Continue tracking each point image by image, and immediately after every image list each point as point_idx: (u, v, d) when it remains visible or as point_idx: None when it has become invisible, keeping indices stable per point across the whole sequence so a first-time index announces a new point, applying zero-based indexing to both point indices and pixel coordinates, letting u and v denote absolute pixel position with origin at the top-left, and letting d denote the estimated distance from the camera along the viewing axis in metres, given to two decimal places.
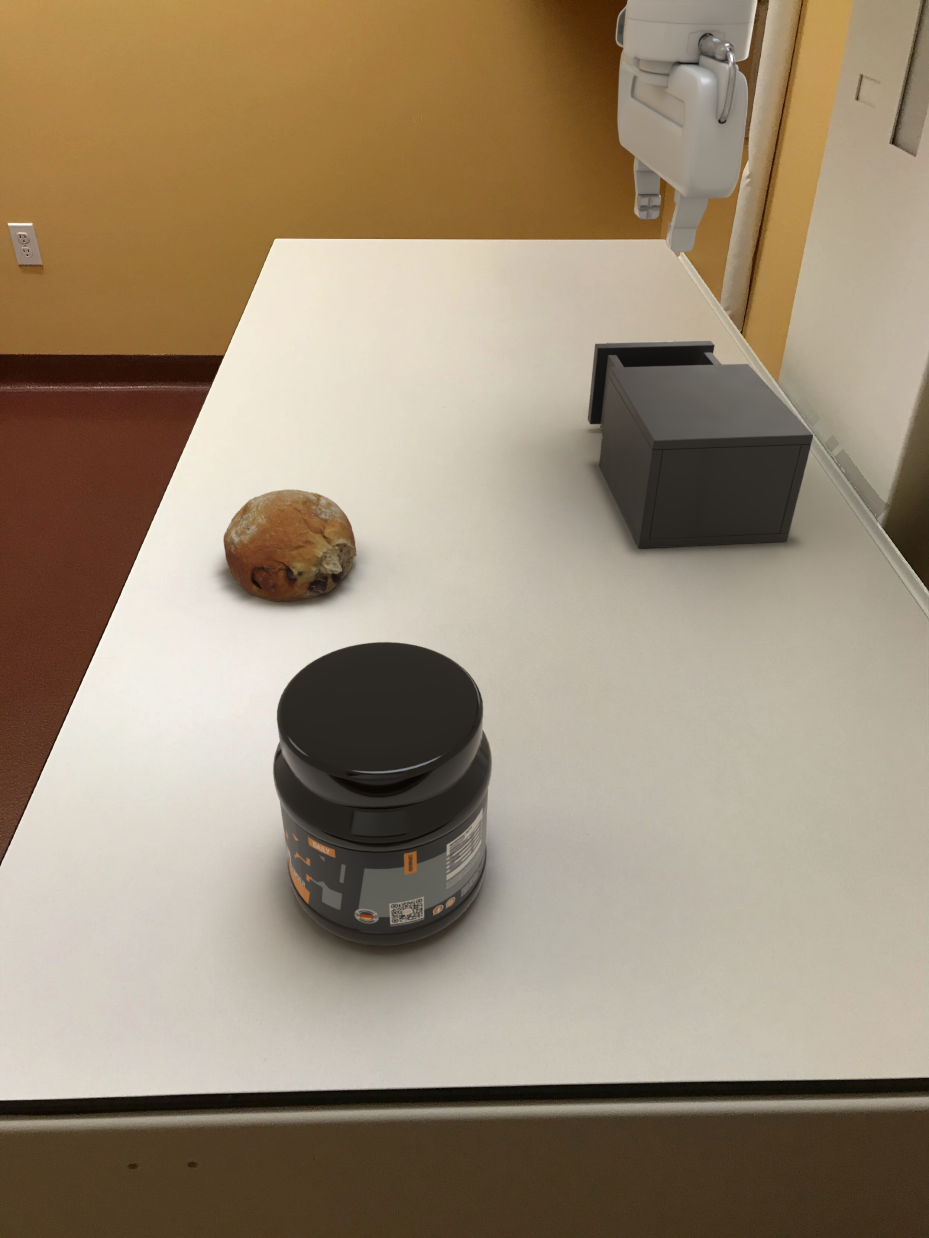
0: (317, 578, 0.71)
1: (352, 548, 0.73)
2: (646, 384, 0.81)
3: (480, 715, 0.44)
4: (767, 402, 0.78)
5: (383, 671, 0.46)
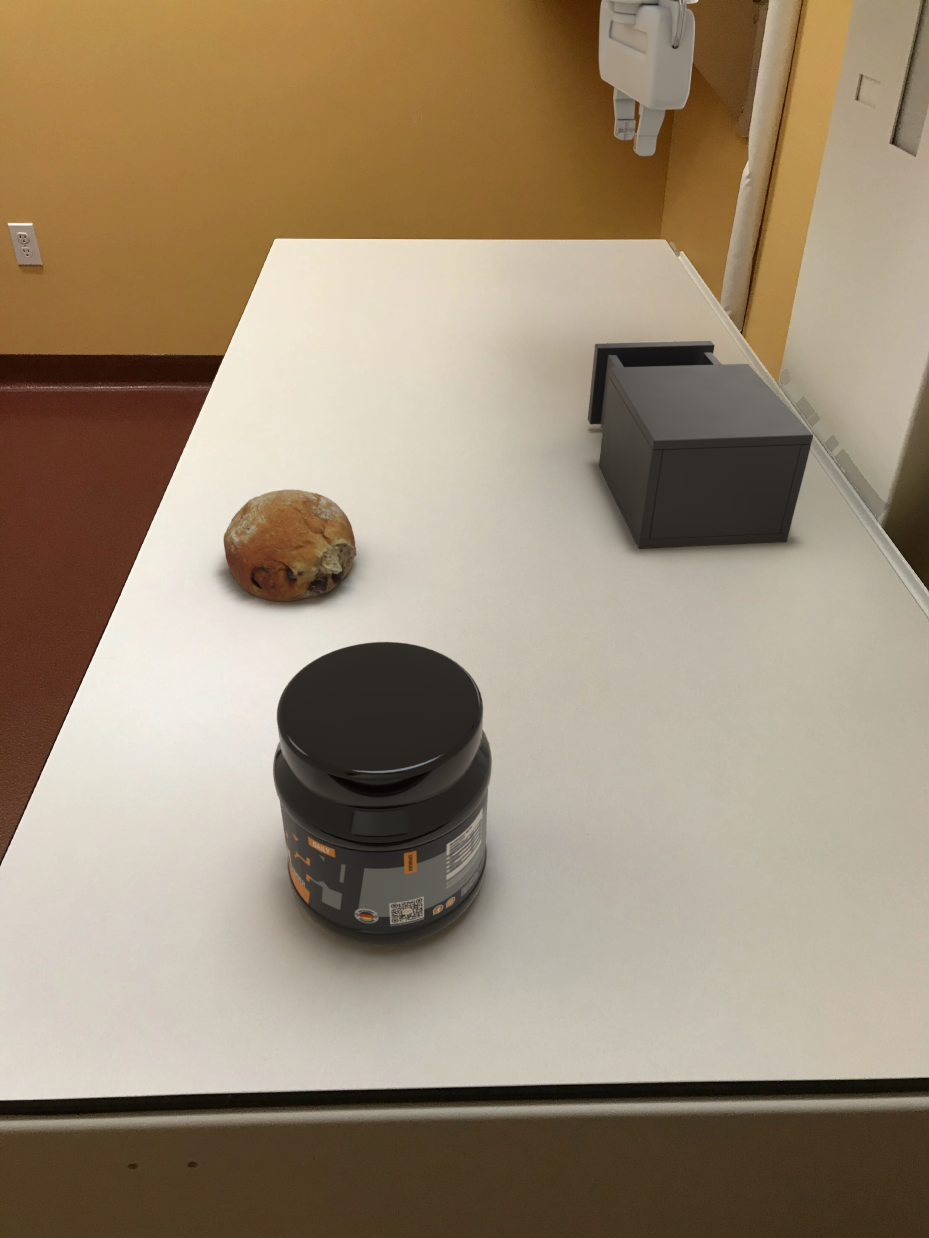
0: (317, 578, 0.71)
1: (352, 548, 0.73)
2: (646, 384, 0.81)
3: (480, 715, 0.44)
4: (767, 402, 0.78)
5: (383, 671, 0.46)
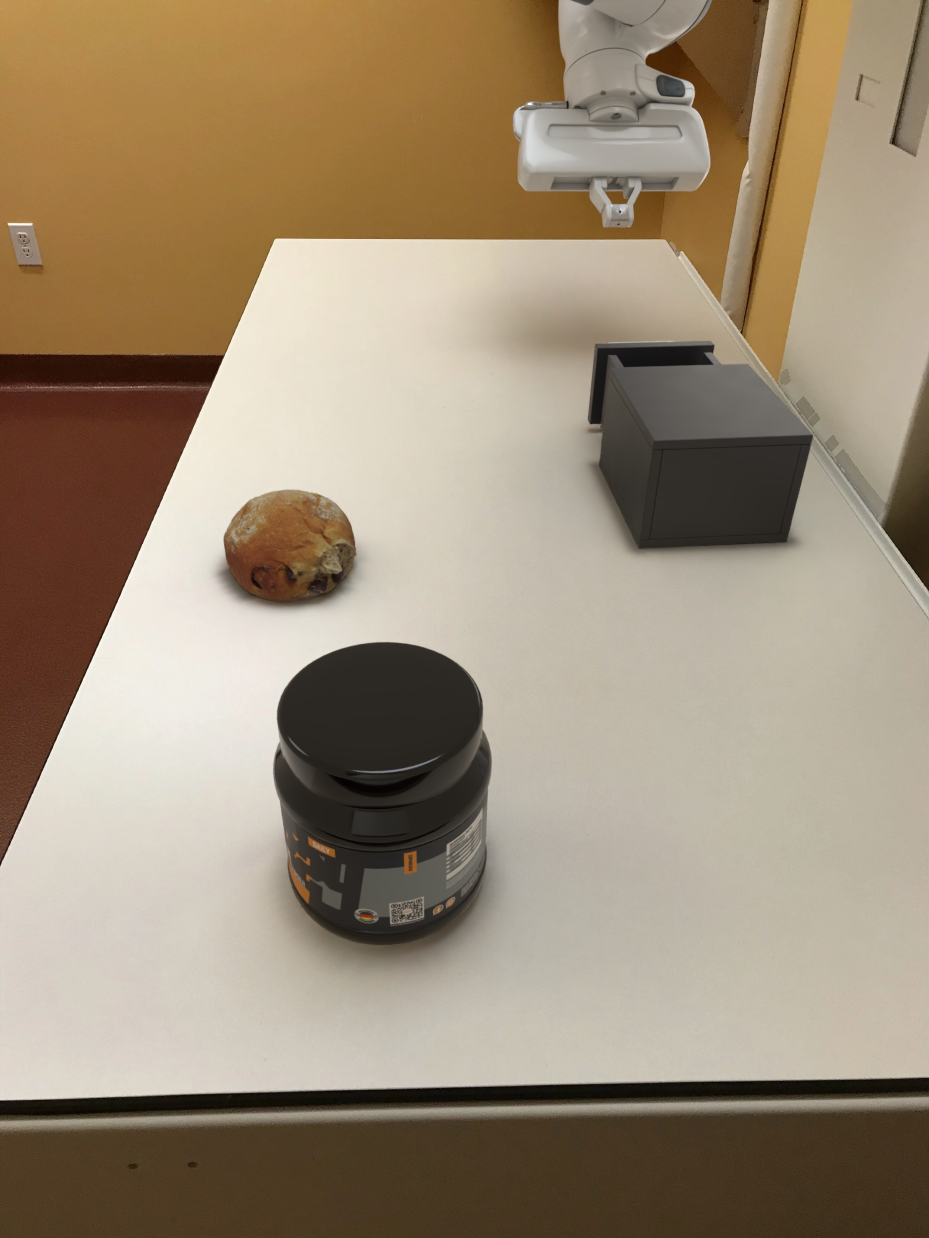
0: (317, 578, 0.71)
1: (352, 548, 0.73)
2: (646, 384, 0.81)
3: (480, 715, 0.44)
4: (767, 402, 0.78)
5: (383, 671, 0.46)
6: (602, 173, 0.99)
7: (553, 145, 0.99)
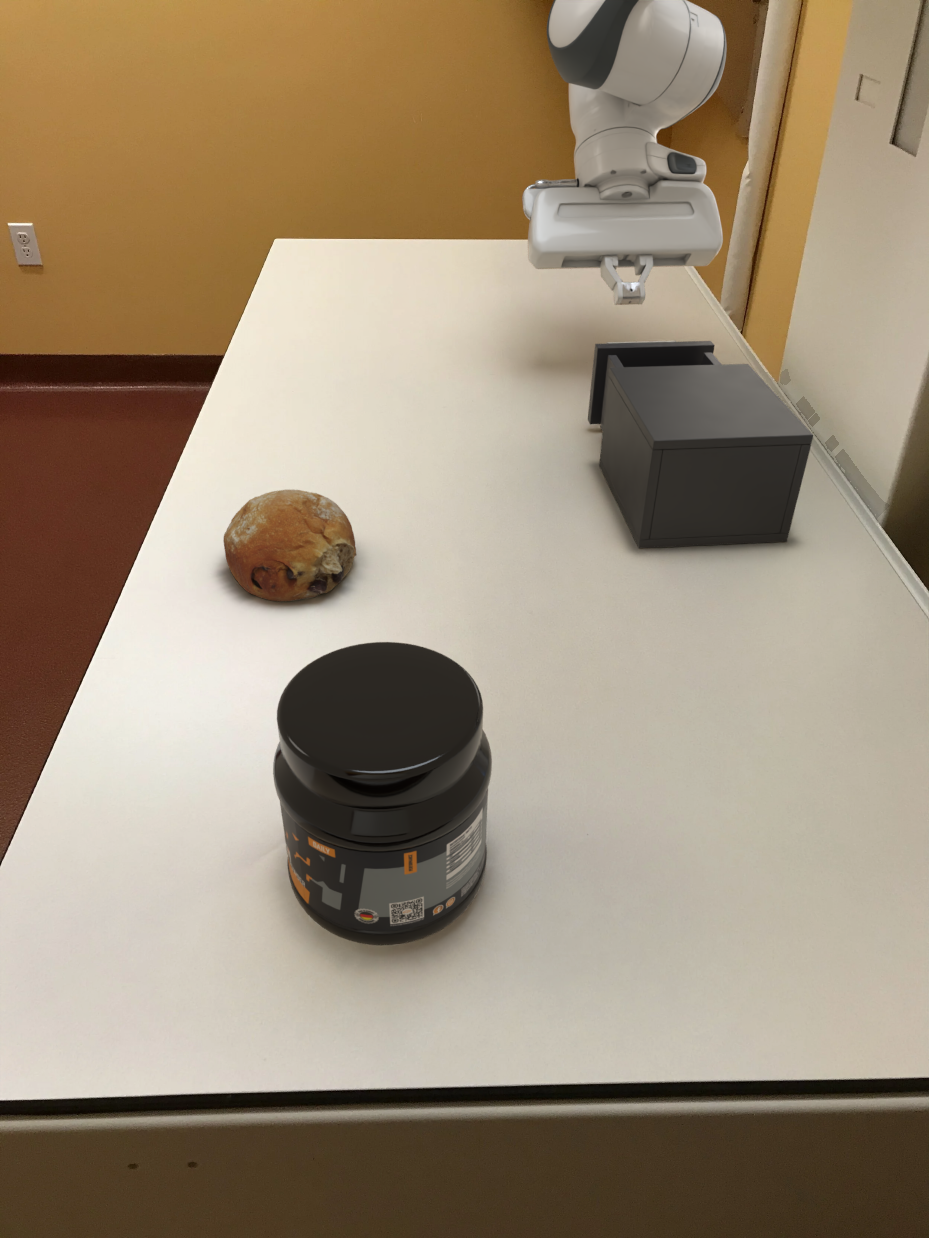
0: (317, 578, 0.71)
1: (352, 548, 0.73)
2: (646, 384, 0.81)
3: (480, 715, 0.44)
4: (767, 402, 0.78)
5: (383, 671, 0.46)
6: (613, 251, 0.98)
7: (563, 225, 0.98)
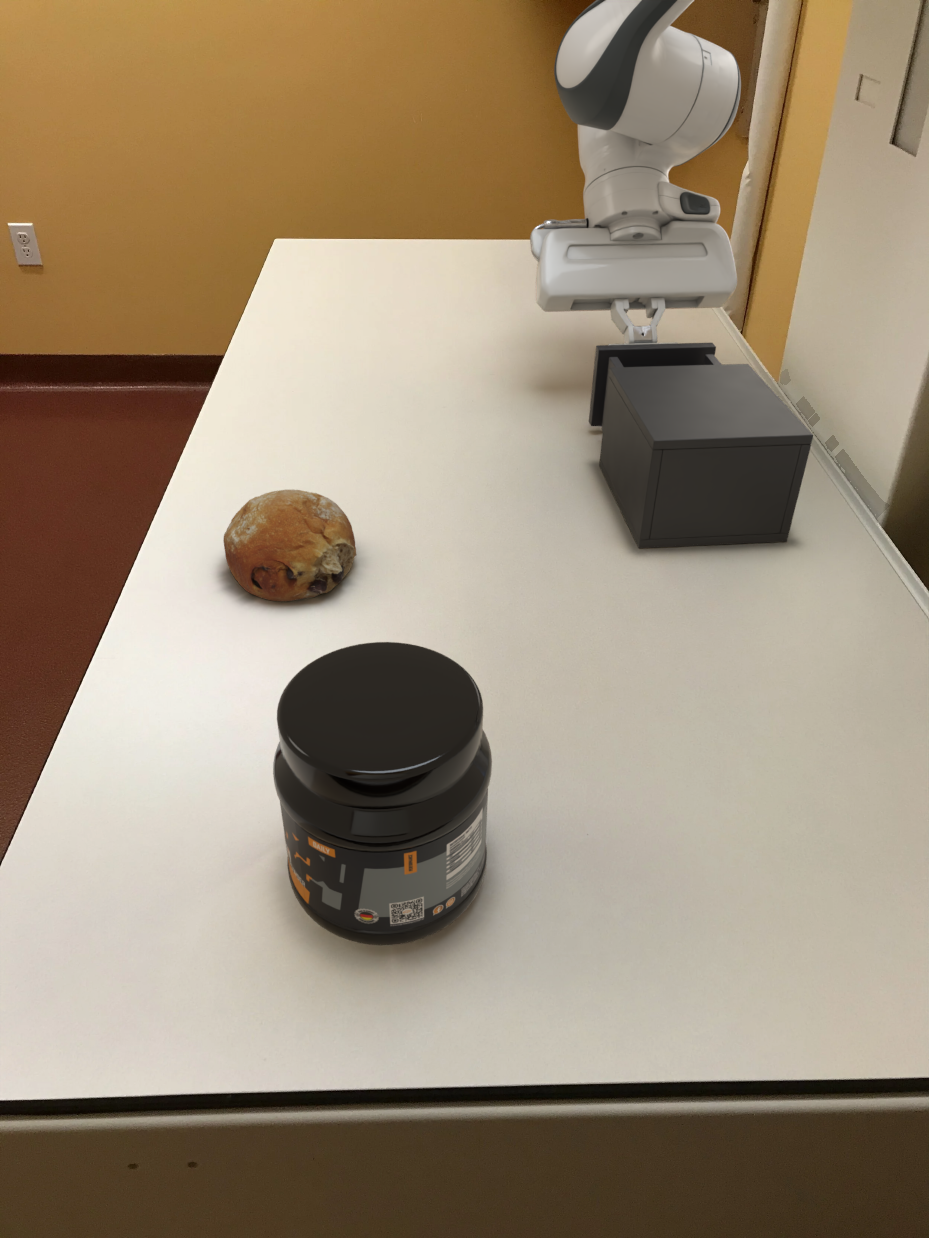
0: (317, 578, 0.71)
1: (352, 548, 0.73)
2: (646, 384, 0.81)
3: (480, 715, 0.44)
4: (767, 402, 0.78)
5: (383, 671, 0.46)
6: (624, 295, 0.95)
7: (573, 267, 0.95)
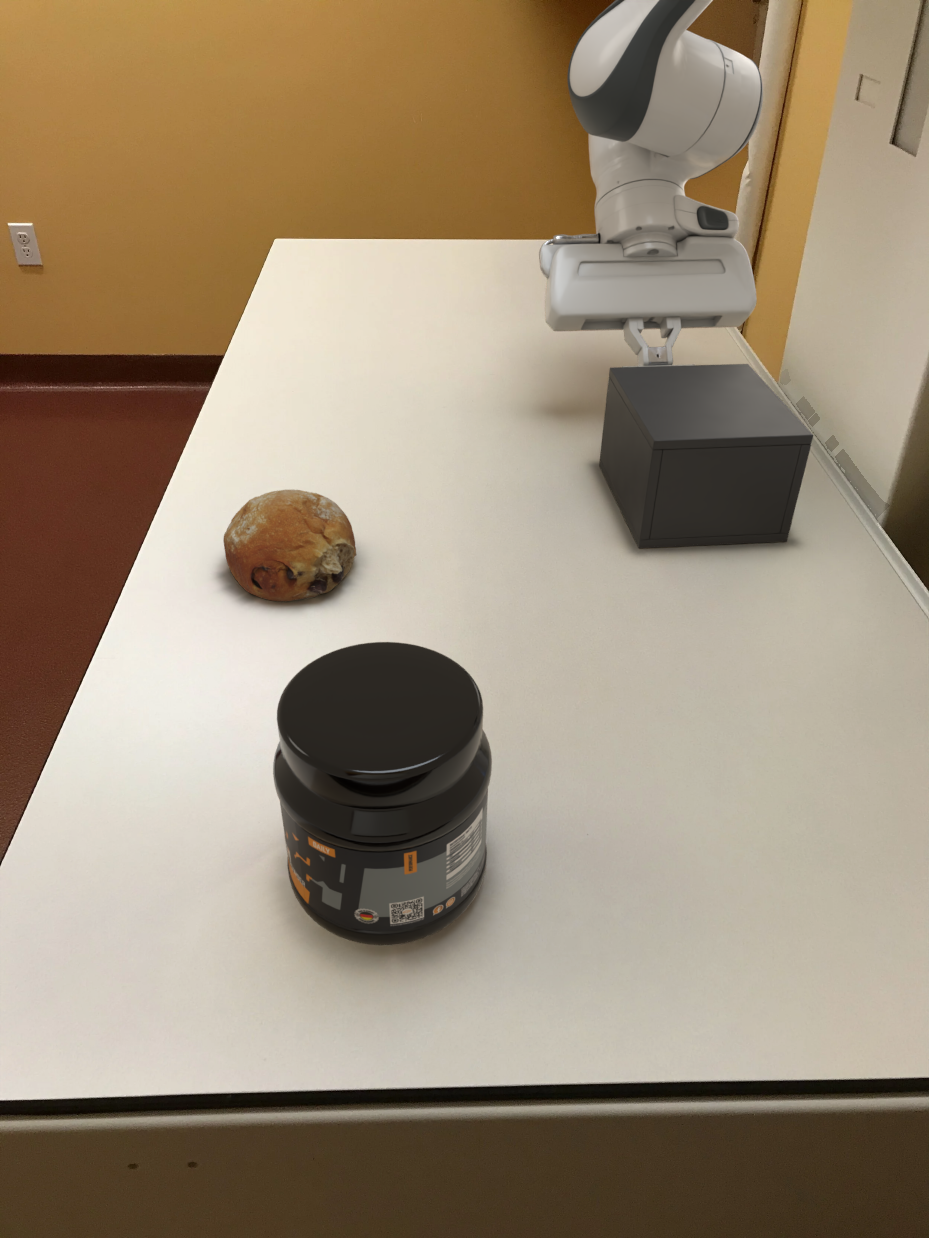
0: (317, 578, 0.71)
1: (352, 548, 0.73)
2: (646, 384, 0.81)
3: (480, 715, 0.44)
4: (767, 402, 0.78)
5: (383, 671, 0.46)
6: (638, 314, 0.90)
7: (584, 285, 0.90)
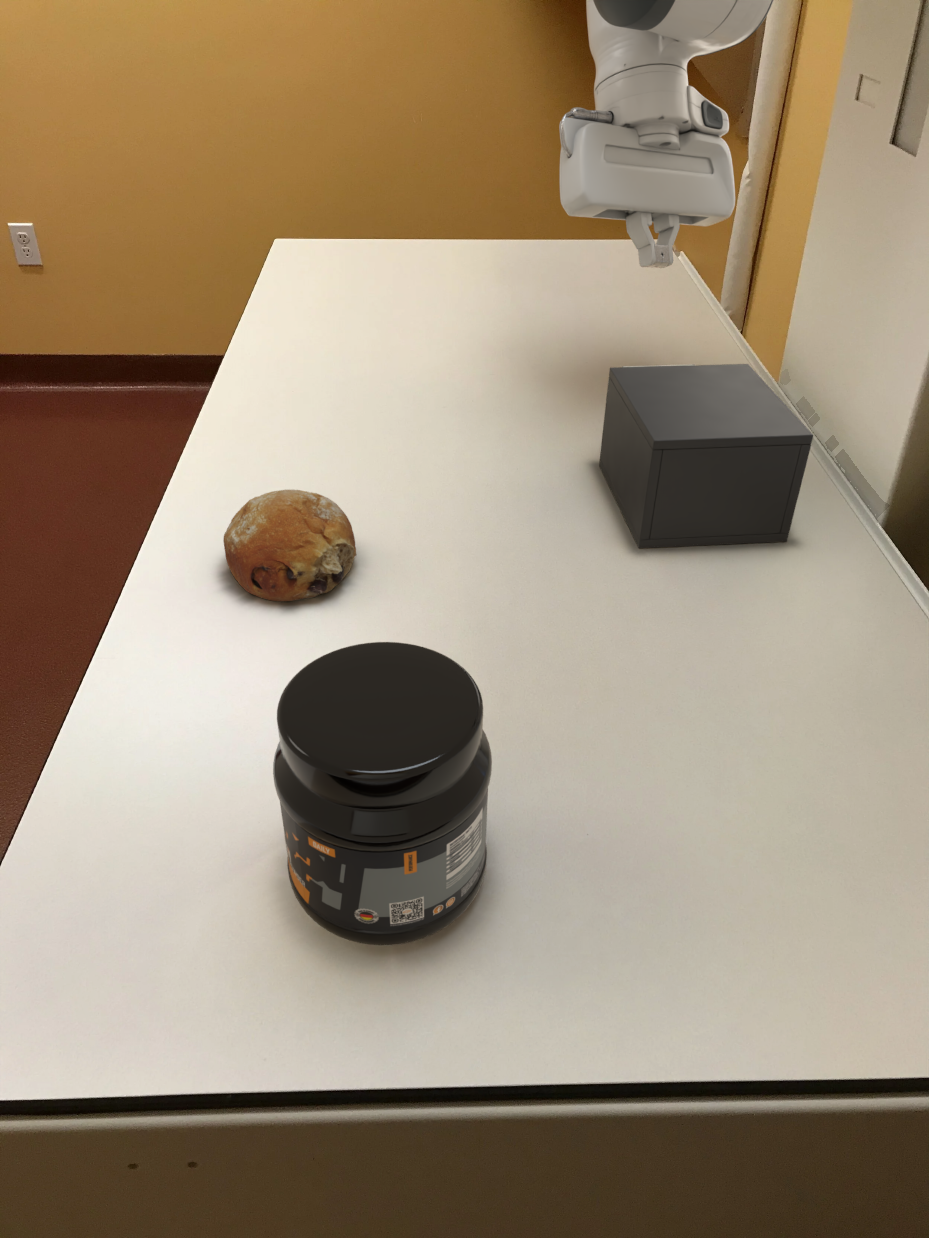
0: (317, 578, 0.71)
1: (352, 548, 0.73)
2: (646, 384, 0.81)
3: (480, 715, 0.44)
4: (767, 402, 0.78)
5: (383, 671, 0.46)
6: (650, 209, 0.91)
7: (609, 172, 0.88)
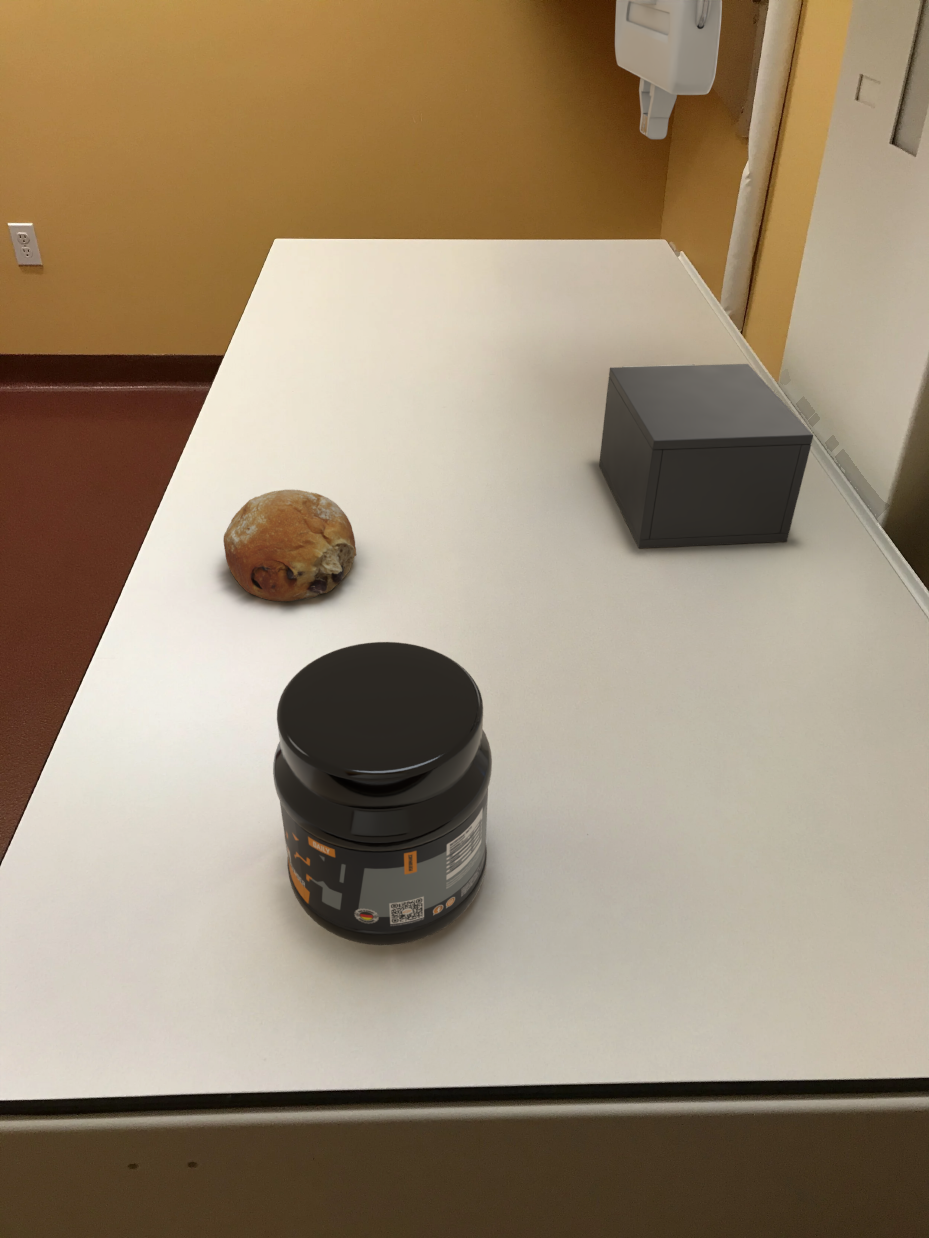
0: (317, 578, 0.71)
1: (352, 548, 0.73)
2: (646, 384, 0.81)
3: (480, 715, 0.44)
4: (767, 402, 0.78)
5: (383, 671, 0.46)
6: None
7: None
